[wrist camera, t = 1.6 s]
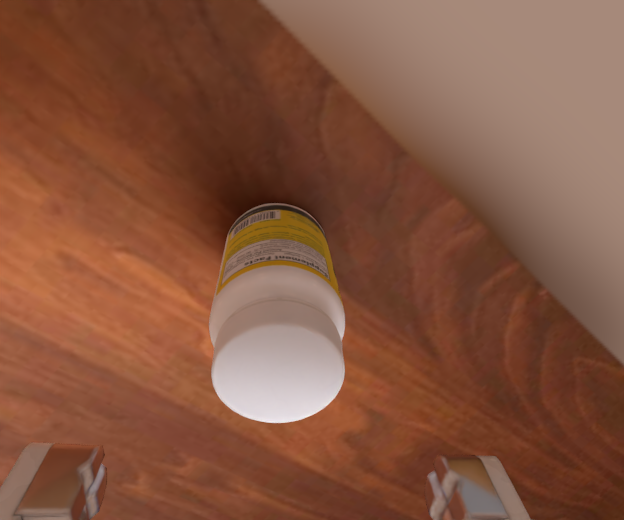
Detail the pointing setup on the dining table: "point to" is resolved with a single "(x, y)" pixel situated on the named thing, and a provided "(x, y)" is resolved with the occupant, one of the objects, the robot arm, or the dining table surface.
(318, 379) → the supplement bottle
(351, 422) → the dining table surface
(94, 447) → the robot arm
